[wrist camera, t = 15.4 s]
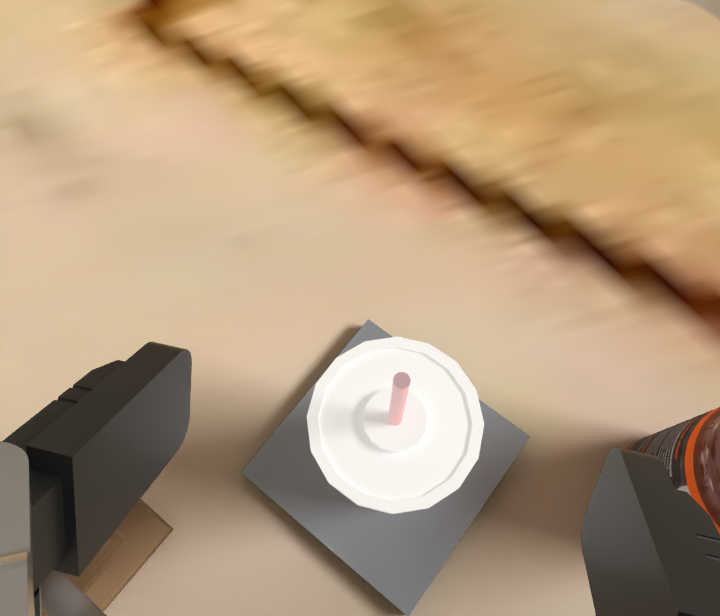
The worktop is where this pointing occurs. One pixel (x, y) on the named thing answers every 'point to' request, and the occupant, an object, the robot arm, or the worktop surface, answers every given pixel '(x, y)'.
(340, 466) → the beverage cup
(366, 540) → the coaster
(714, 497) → the supplement bottle
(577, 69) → the worktop surface
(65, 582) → the gate
